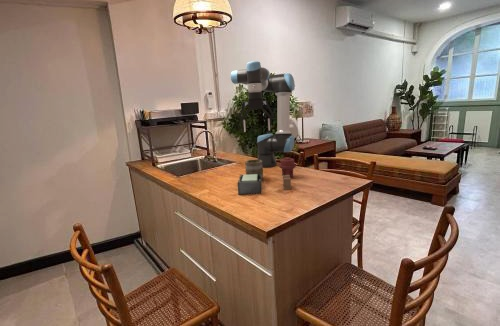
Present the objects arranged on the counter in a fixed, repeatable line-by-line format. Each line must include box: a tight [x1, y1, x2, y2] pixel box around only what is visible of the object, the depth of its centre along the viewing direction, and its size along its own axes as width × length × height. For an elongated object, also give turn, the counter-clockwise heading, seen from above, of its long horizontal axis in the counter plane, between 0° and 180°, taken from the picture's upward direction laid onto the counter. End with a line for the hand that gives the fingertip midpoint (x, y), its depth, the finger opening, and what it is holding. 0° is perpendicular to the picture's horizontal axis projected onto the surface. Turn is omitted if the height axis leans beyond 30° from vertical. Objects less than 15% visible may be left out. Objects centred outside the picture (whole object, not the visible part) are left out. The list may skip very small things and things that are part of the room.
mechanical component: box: [278, 156, 296, 179], centre depth 166 cm, size 12×10×10 cm
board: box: [242, 174, 258, 182], centre depth 147 cm, size 12×8×2 cm, turn 177°
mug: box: [244, 159, 264, 182], centre depth 167 cm, size 16×11×12 cm
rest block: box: [282, 175, 292, 191], centre depth 148 cm, size 8×4×6 cm, turn 177°
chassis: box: [236, 174, 263, 196], centre depth 148 cm, size 16×12×6 cm
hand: (257, 131), depth 152 cm, fingers open, 13 cm apart
